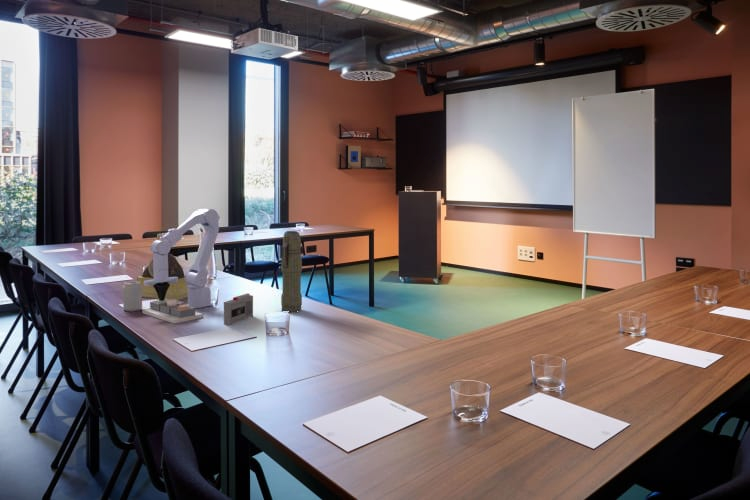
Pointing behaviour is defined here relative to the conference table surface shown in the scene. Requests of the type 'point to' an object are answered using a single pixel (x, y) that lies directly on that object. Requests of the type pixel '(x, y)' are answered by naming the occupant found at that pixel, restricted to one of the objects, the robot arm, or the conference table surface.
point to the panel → (171, 312)
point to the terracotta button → (182, 307)
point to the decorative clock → (176, 288)
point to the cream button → (172, 302)
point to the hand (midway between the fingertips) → (161, 300)
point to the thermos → (291, 272)
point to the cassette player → (238, 309)
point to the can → (132, 296)
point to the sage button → (161, 301)
